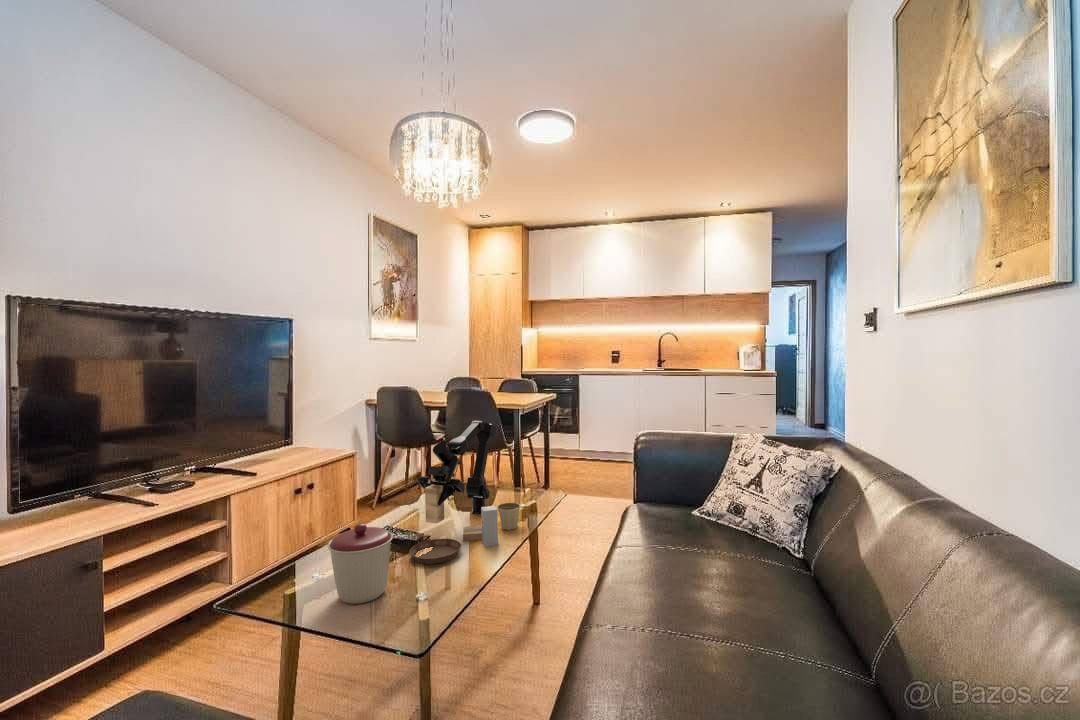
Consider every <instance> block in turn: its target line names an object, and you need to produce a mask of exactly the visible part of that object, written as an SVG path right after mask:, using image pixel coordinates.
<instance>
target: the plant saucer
mask: <svg viewBox="0 0 1080 720" xmlns="http://www.w3.org/2000/svg"><path fill="white" fill-rule="evenodd" d="M430 547H433V548H432V550H431V551H429V552H427V553H426V554H422V555H421V556H419V557H416V556H415V555H416V553H417V552H418V551H420V550H422V549H425V548H430ZM461 548H462V543H461V542H460V541H459V540H456V539H452V538H435V539H429V540H425V541H424V540H423V541H421V542H418V543H416V544H415V545H413V546H412V547H411V548H410V549H409V554H410V556H411V557H412V558H413V559H414V561H416V562H418V563H420V564H424V563H425V564H426V565H433V564H435V565H436V564H441V563H445V562H448V561H450V560H452V559H453V558H455V557H456V556H457V555H458V553H460V550H461Z"/></svg>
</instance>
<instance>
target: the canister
mask: <svg viewBox="0 0 1080 720" xmlns="http://www.w3.org/2000/svg"><path fill="white" fill-rule="evenodd" d="M393 539H394V534H393V533H392V532H391V530H390V531H389V530H387V529H385V528H383V527H378V526H377V527H376V526H367V525H366V524H365V523H357V524H356V525H355V526H354V527H353V529H349V530H346V531H343V532H341V533H339V534H337V535H336V536H334V538H332V539H330V541H328V543H327V549H328V550H329V551H330V559H331V564H332V571H333V577H334V583H335V587H336V588H335V589H336V592H337V595H338V597H339V598H340V600H341V601H343V602H344V603H346V604H347V603H348V604H351V605H352V604H353V605H354V604H357V605H358V604H364V603H368V602H371V601H373V600H375V599H377V598H379V597H380V596H381V595H382V594H384V592H385V590H386V588H387V585H388V579H389V571H390V558H391V557H390V556H391V555H390V554H391V543H392V542H391V541H392V540H393Z"/></svg>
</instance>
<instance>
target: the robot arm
mask: <svg viewBox="0 0 1080 720" xmlns="http://www.w3.org/2000/svg"><path fill="white" fill-rule="evenodd" d="M496 433H497V427H496V426H495V425H494V424H493V423H487V422H484V421H482V420H472V421H471V423H470V425H469V426H467V428H466V429H465V430H464V431H463V432H462V433H461V434H460V435H459V436H458V437H453V438H452V439H451V440H450V441H447V440H445V439H443V440H442V439H441V440H440V441H439V442H438V443H437V444H435V445H434V446H433V448H432V452H433V454H434V455H435V456H436V458H437V459H438V460H439V461H440V462H442V463H441V465H439V466H431V465H430V466H429V470H428V473H427V475H429V476H432V479H434V480H432V479H431V478H430V477H429V476H425V475H424V476H422V475H421V476H419V477H418V479H417V481H416V482H417V484H418V485H420V487H421V488H422V489H423V490H425V488H426V487H428V486H430V485H433V484H434V485H442V486H443V491H442V494H441V496H440V499H439V501H438V505H441V504H442V503H443V502H444V503H445V501H446V500H448V499H449V498H450V497H451V496H453V495H456V493H460V494H461V493H464V491H466V496H467V498H468V499H471V500H472V508H471V515H474V514H481V507H487V506H486V504H487V503H486V500H487V499H489V498H490V497H491V496H490V495H491V491H490V490H489V488H488V487H487V480H486V477H485V473H486V465H487V462H488V461H487V460H488V456H489V449H490V445H491V443H492V442H493V441H494V439H495V436H496ZM475 437H476V439H477V441H478V445H477V450H476V457H475V462H474V467H473V472H472V473H473V474H472V475H471V476H468V477H467V480H466V481H467V482H466V485H464V483H463V481H461V479H459V478H455V476H456V475H455V470H456V468H457V467H458V465H461V464H462V463H461V459H460V457H458V456H464V455H465V454H466V453H467V451H468V449H469V445H470V443H471V442H472V441H473V439H474V438H475Z"/></svg>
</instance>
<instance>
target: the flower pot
mask: <svg viewBox="0 0 1080 720" xmlns="http://www.w3.org/2000/svg"><path fill="white" fill-rule="evenodd" d="M520 508H521V504H520V503H517V502H503V503H499V504H497V506H496V509H497V512H498V513H499V514H498V515H499V517H500V518H499V519H500V524H501V529H502V530H504V529H505V530H508V531H511V529H513V530H515V529H514V528H516V529H517V528H518V522H519V513H520V512H519V511H520ZM505 530H504V531H505Z"/></svg>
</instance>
